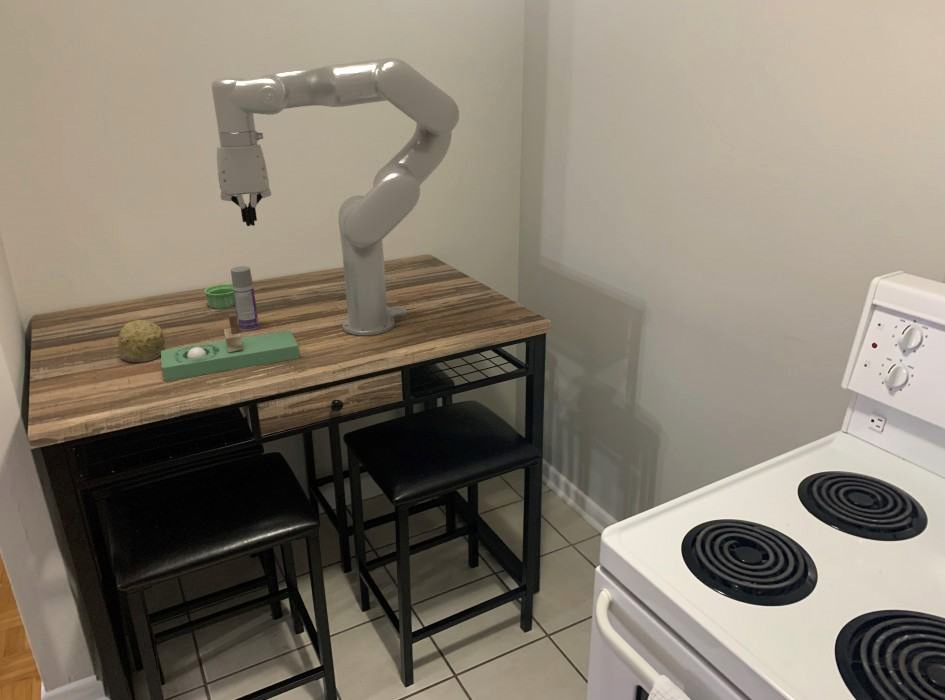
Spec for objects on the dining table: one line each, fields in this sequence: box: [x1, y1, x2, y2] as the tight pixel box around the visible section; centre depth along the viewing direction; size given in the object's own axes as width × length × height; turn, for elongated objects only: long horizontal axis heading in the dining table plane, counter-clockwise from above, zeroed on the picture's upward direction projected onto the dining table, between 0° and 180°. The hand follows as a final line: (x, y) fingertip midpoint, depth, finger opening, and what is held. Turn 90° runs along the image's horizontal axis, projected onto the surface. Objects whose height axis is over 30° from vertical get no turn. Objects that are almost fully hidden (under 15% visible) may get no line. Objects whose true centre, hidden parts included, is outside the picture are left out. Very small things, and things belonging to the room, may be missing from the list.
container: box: [230, 265, 260, 332], centre depth 177 cm, size 5×5×15 cm
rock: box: [117, 319, 166, 363], centre depth 164 cm, size 10×11×10 cm
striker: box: [223, 312, 243, 352], centre depth 159 cm, size 3×6×7 cm, turn 23°
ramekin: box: [204, 283, 236, 310], centre depth 195 cm, size 9×9×4 cm
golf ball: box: [187, 347, 207, 359], centre depth 158 cm, size 4×4×4 cm
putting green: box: [160, 329, 300, 382], centre depth 161 cm, size 28×10×3 cm, turn 112°
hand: (250, 224), depth 163 cm, fingers closed
